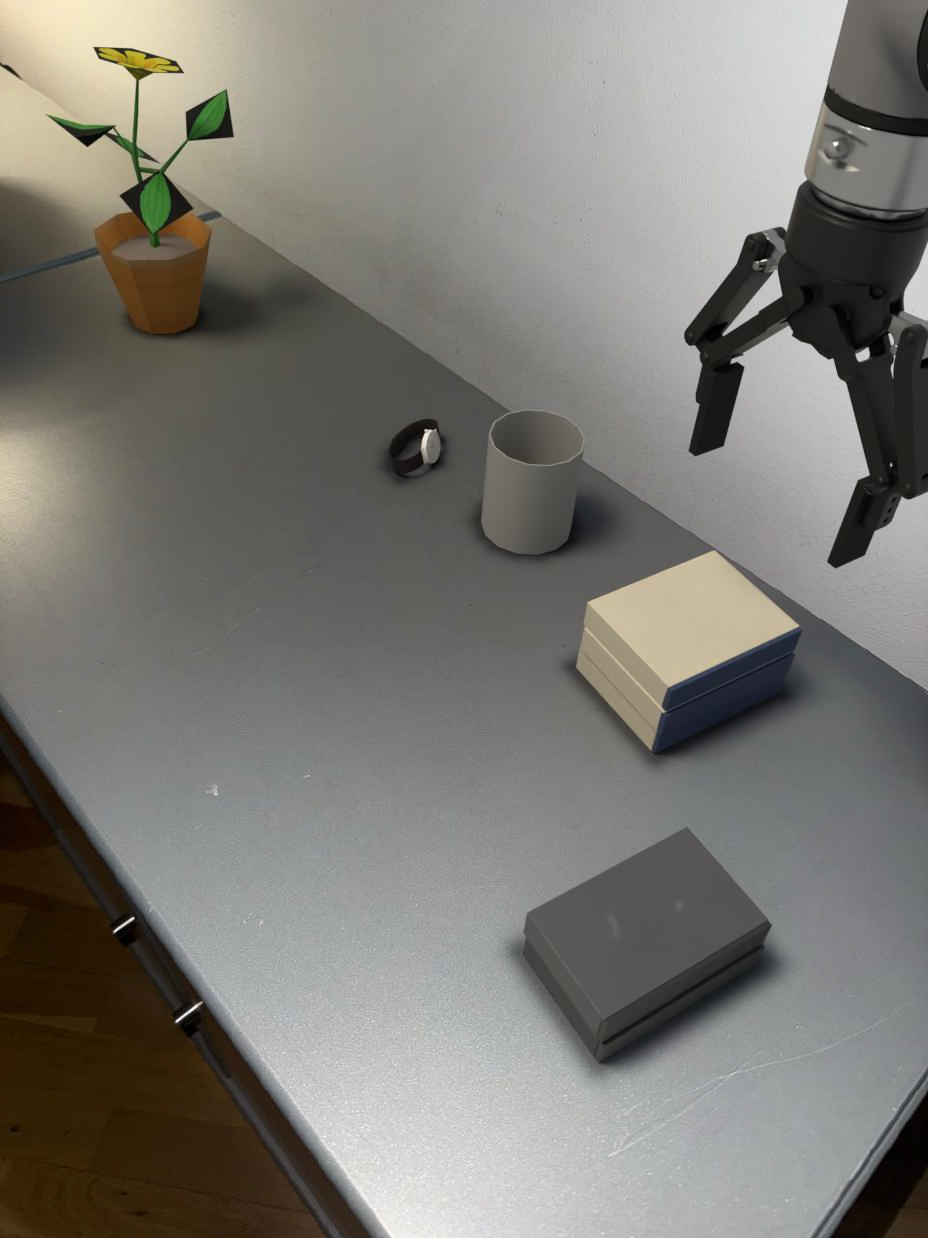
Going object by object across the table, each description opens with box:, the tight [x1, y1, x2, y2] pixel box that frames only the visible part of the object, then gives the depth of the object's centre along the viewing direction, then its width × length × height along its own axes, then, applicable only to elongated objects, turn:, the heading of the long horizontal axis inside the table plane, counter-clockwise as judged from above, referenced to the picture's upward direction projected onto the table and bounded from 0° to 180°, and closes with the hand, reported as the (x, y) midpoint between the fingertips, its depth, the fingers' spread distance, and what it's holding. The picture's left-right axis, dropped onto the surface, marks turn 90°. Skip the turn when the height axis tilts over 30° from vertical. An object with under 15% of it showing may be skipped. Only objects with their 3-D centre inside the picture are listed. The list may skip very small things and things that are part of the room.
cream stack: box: [575, 626, 796, 754], centre depth 87 cm, size 10×13×5 cm
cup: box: [480, 409, 586, 556], centre depth 98 cm, size 8×8×10 cm
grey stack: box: [522, 826, 773, 1063], centre depth 70 cm, size 9×13×5 cm, turn 122°
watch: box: [387, 418, 441, 474], centre depth 107 cm, size 8×5×4 cm, turn 159°
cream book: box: [583, 549, 803, 711], centre depth 85 cm, size 10×13×2 cm
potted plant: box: [45, 46, 235, 335], centre depth 114 cm, size 18×19×30 cm
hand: (772, 501), depth 74 cm, fingers open, 13 cm apart
